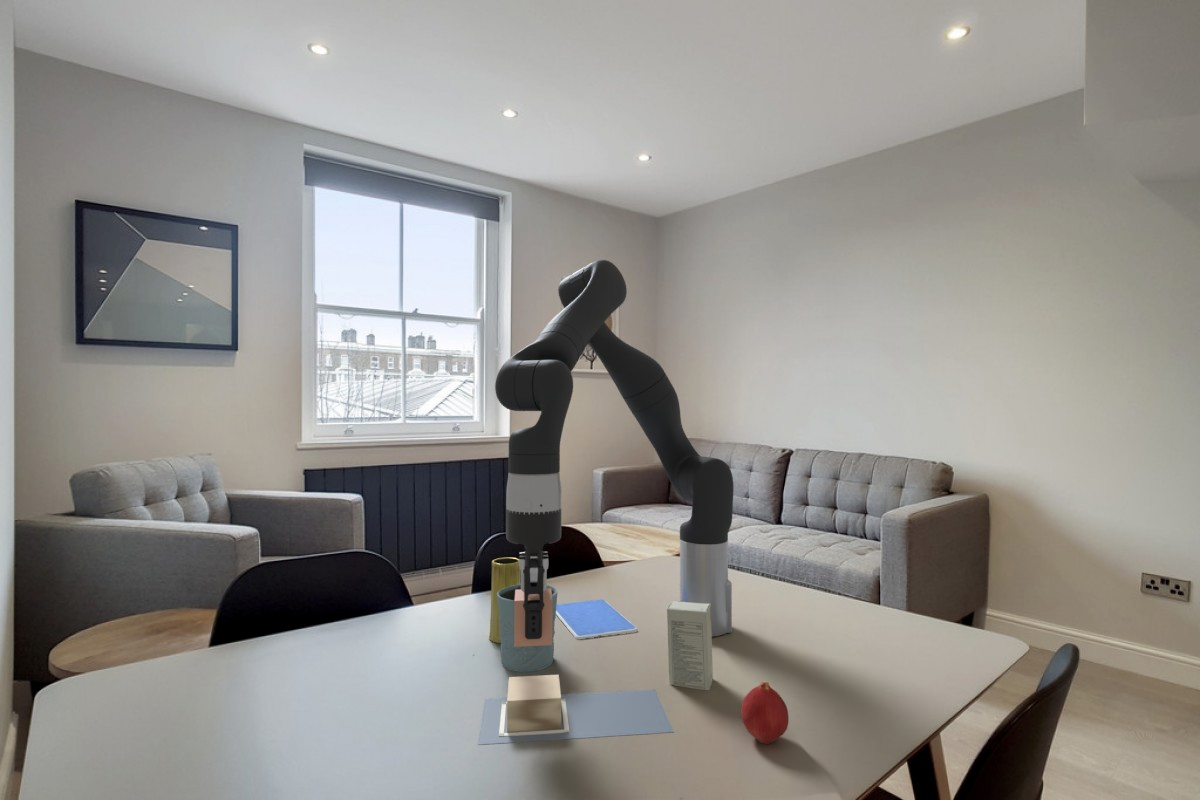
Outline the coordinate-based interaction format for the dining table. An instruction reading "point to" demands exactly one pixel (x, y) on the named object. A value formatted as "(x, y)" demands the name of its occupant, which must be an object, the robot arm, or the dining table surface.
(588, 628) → the tablet computer
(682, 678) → the skincare box
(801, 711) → the dining table surface
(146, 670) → the dining table surface
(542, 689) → the oak base block
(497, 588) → the vase
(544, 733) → the board
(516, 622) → the terracotta block
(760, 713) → the onion
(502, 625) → the grey-green pot
